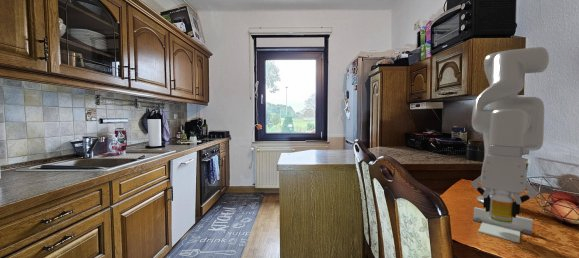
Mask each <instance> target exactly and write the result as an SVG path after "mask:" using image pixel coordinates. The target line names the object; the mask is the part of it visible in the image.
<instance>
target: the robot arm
mask: <svg viewBox="0 0 579 258" xmlns="http://www.w3.org/2000/svg"><path fill="white" fill-rule="evenodd" d="M549 63H550V56H549V52H548V50H547V49H546V48H545V47H543V46H537V47H534V46H533V47H528V48H527V47H526V48H517V49H508V50H507V49H506V50H502V51H497V52H493V53H489V54H487V55H486V56H485V58H484V61H483V69H484V73H485V76H486V79H487V81H488V84H489V86H488V87H486V88H485V89H484V90H483V91H482V92H481V93H479V95H478V96H477V97H476V99H475V101H474V103H473V106H472V114H471V127H472V128H473V130H474V131H475V132H478V133H480V134H481V133H482V136H483V137H482V138H483V145H484V146H483V147H484V148H483V149H484V158H483V162H482V167H481V174H480V176H478V177H477V178H476V179H474V180H473V181H472V182H470V185H471V186H472V187H473V188H474V189H475V190H476V191H477V192H478V193H479V194H480V195H479V196H476V200H477V201H478V202H480V204H482V205H483V206H482V208H483V209H486V212H489V203H490V195H491V194H494V192H493V190H502V191H506V192H510V193H511V195H510V197H512V198H513V199H514V203H513V216H512V217H513V218H516V216H520V211H521V205H522V204H523V203H526V201H528V200H530V199H533V198H535V197H538V195H539V193H538V191H537V190H536V189H535V188H534V187H533V186H532V184H530V183H529V182H528V169H527V161H526V158H525V157H523V156H525V155H530V152H533V151H539V150H540V149H541V148H542V147H543V143H544V132H545V131H544V130H545V105H544V102H543V100H542V99H541V98H539V97H536V96H519V93H520V92H521V91H522V90H523V89H524V86H525V81H524V77H525V74H536V73H537V74H539V73H543V72H545V71H546V69H547V68H548V66H549ZM487 105H489V109H484V108H485V107H486V106H487ZM479 183H480V185H481V186H480V185H479ZM526 190H527V191H528V193H526ZM525 193H526V194H525ZM521 194H523V195H522V196H521Z"/></svg>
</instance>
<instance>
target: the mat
mask: <svg viewBox="0 0 579 258" xmlns="http://www.w3.org/2000/svg"><path fill="white" fill-rule="evenodd" d="M477 232H478V233H481V234H485V235H488V236H491V237H496V238H500V239H503V240H507V241H510V242H514V243H519V244H520V240H521V231H518V230H514V229H510V228H505V227H501V226H497V225H493V224H489V223H485V222H481V224H480V226H479V228H478V230H477Z"/></svg>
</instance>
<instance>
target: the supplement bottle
mask: <svg viewBox="0 0 579 258" xmlns="http://www.w3.org/2000/svg"><path fill="white" fill-rule="evenodd" d="M493 192H494V194H491V195H490V203H489V219H490V220H491V221H494V222H496V223H500V224H512V219H513V217H512V216H513V203H514V202H515V198H514V197H513V198H512V197H510V195H511V193H510V192H506V191H502V190H493Z"/></svg>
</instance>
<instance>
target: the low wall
mask: <svg viewBox="0 0 579 258" xmlns="http://www.w3.org/2000/svg"><path fill="white" fill-rule="evenodd" d="M472 221H473V222H477V223H482V222H484V223H488V224H492V225H496V226H500V227H505V228H509V229H513V230H517V231H520V232H522V233H523V234H526V235H533V223H534V222H533V219H532V218H527V217H523V216H520V215H516V218H513V219H512V224H500V223H496V222H494V221H491V220H490V219H489V212H486V208H480V207H473V218H472Z"/></svg>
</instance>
